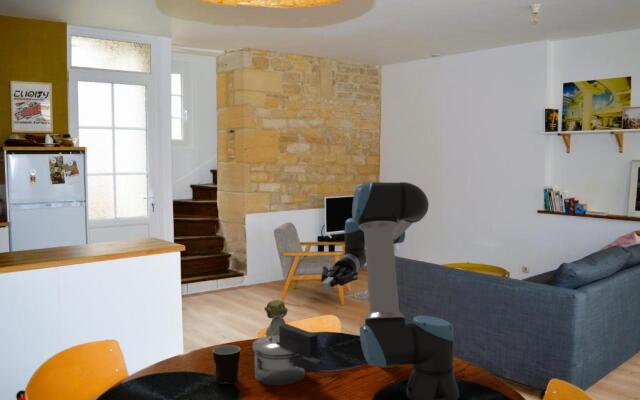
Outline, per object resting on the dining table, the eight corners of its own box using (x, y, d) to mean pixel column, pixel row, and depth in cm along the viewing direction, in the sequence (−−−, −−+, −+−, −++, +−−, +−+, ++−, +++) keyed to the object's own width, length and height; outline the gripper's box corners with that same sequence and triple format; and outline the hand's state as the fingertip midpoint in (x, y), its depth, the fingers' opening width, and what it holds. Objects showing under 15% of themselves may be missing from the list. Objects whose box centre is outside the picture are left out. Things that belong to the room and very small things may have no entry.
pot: (238, 374, 190) (237, 346, 189) (275, 360, 202) (275, 335, 202) (299, 397, 171) (299, 367, 171) (336, 381, 184) (336, 353, 183)
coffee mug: (235, 387, 180) (234, 355, 179) (208, 384, 181) (208, 353, 181) (247, 373, 191) (247, 343, 190) (222, 371, 193) (222, 341, 192)
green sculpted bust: (313, 312, 217) (293, 306, 204) (294, 364, 214) (272, 361, 201) (284, 300, 224) (262, 293, 211) (265, 350, 221) (241, 346, 208)
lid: (242, 346, 189) (241, 322, 189) (284, 335, 200) (284, 313, 200) (290, 368, 170) (290, 342, 169) (334, 354, 181) (334, 330, 180)
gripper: (363, 280, 208) (343, 301, 186) (328, 274, 212) (304, 294, 190) (365, 260, 206) (344, 279, 184) (329, 254, 211) (305, 272, 189)
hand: (324, 286), depth 187 cm, fingers closed
